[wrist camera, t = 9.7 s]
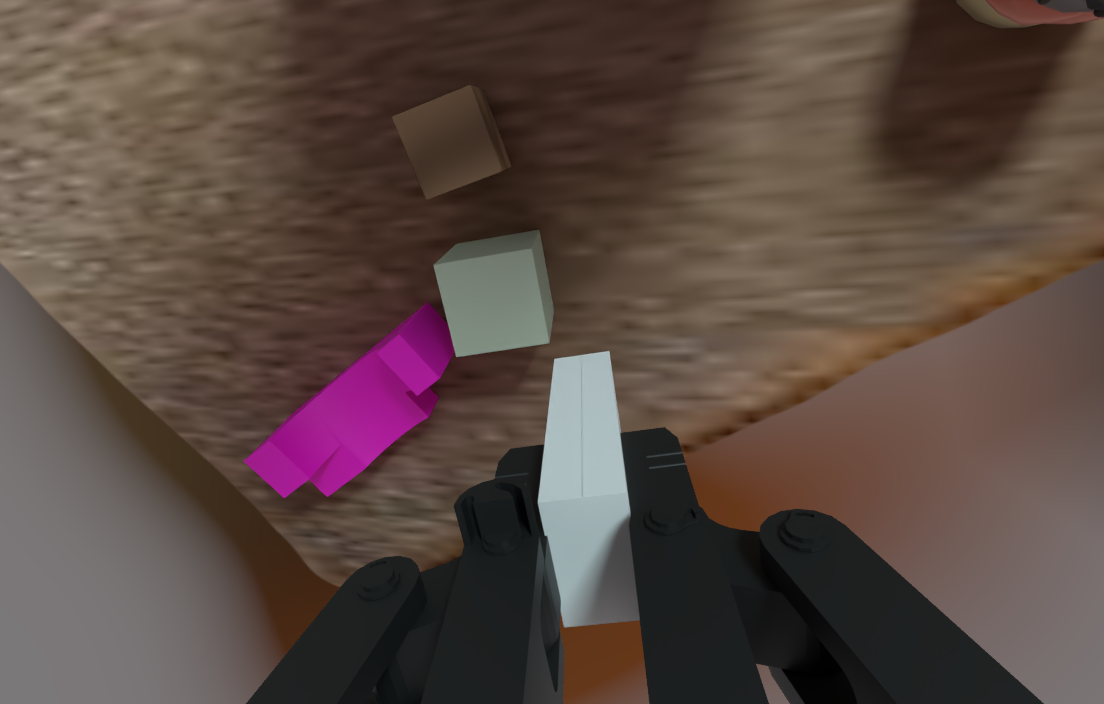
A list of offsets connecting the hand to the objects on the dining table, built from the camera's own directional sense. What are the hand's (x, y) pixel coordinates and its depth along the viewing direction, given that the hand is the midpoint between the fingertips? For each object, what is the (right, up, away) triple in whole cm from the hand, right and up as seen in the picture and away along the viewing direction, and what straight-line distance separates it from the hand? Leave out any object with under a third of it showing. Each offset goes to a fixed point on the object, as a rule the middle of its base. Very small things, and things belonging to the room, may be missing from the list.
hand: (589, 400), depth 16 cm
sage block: (-4, +7, +26) cm, 27 cm away
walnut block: (-7, +15, +23) cm, 28 cm away
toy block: (-14, -1, +30) cm, 33 cm away
